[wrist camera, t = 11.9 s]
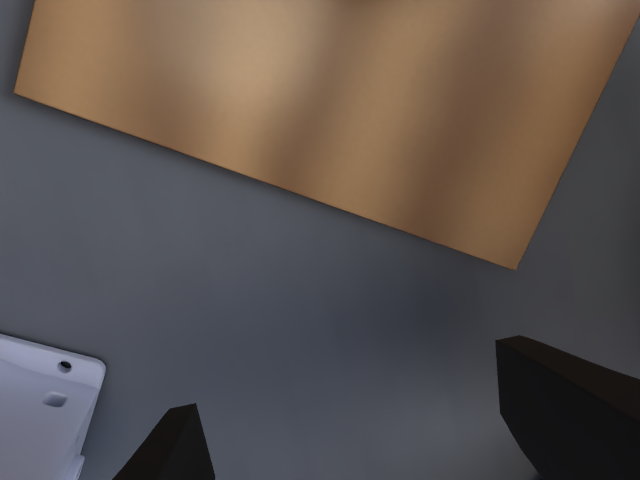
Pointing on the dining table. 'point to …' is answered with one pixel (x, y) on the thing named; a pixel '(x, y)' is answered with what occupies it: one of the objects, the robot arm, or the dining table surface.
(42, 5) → the wooden mat
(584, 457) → the robot arm
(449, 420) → the dining table surface
